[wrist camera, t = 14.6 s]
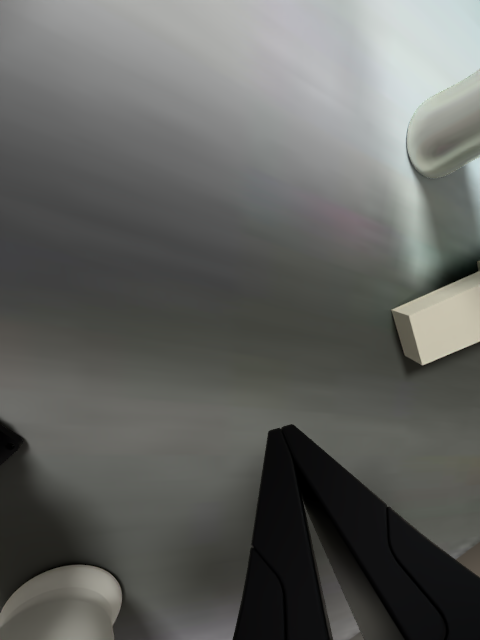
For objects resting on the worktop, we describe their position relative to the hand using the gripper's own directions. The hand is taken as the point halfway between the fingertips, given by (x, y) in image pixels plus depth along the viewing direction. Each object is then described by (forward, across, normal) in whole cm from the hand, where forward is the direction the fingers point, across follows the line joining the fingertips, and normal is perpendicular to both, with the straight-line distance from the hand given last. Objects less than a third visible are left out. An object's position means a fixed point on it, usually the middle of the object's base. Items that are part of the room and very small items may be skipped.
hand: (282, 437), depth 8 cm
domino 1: (+12, -14, +6) cm, 19 cm away
